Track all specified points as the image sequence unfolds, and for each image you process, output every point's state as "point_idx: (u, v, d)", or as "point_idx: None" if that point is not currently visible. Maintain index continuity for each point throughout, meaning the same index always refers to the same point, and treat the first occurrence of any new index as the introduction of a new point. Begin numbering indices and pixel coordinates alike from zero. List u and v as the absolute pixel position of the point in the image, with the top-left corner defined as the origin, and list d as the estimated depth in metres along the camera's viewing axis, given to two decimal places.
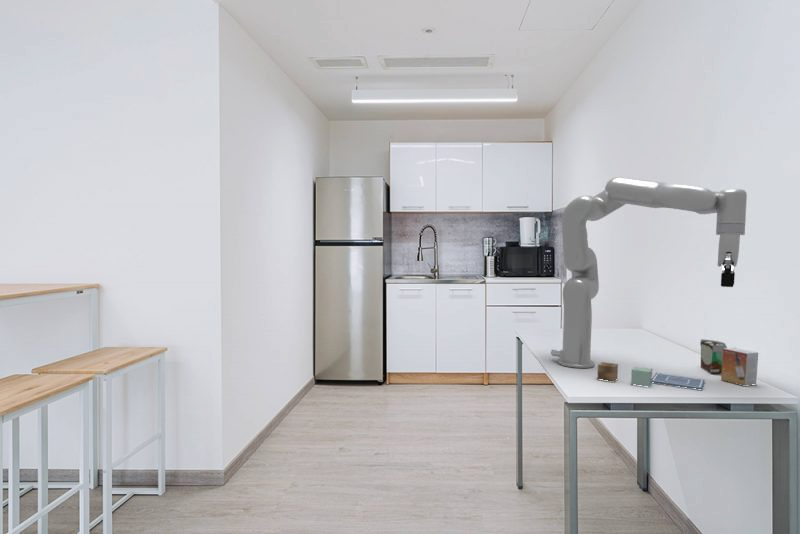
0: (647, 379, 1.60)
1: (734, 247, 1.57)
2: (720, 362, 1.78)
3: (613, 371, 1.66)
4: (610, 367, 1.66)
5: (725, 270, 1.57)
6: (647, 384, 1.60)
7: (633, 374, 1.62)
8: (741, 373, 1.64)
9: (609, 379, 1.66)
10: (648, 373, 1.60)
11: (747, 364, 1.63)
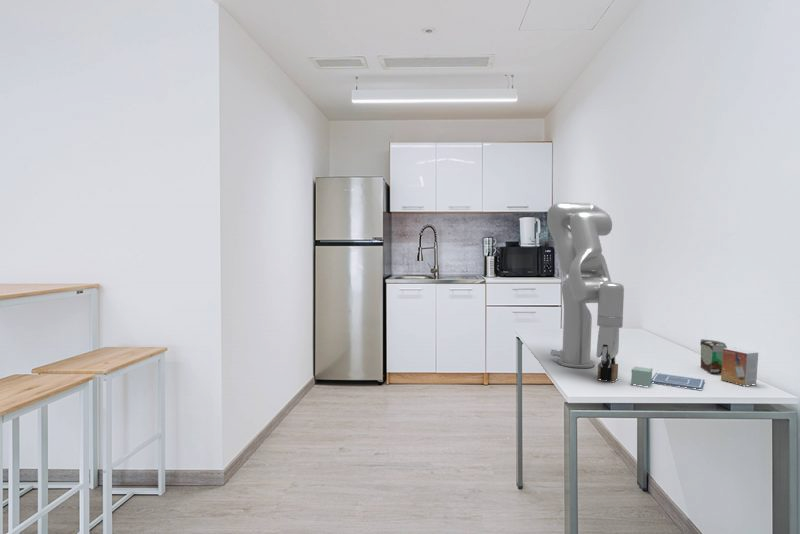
0: (647, 379, 1.60)
1: (610, 340, 1.64)
2: (720, 362, 1.78)
3: (613, 371, 1.65)
4: None
5: (603, 365, 1.65)
6: (647, 384, 1.60)
7: (633, 374, 1.62)
8: (741, 373, 1.64)
9: None
10: (648, 373, 1.60)
11: (747, 364, 1.63)
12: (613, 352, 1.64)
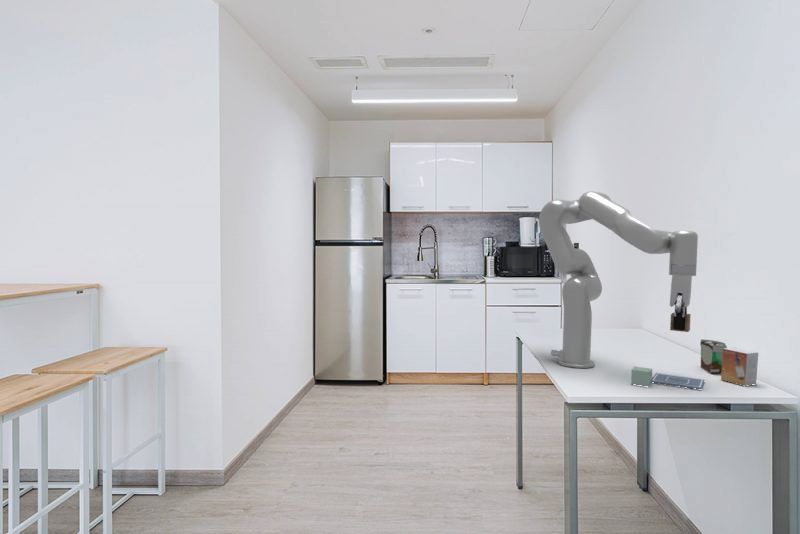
0: (647, 379, 1.60)
1: (685, 288, 1.61)
2: (720, 362, 1.78)
3: (687, 320, 1.62)
4: (684, 316, 1.63)
5: (677, 314, 1.62)
6: (647, 384, 1.60)
7: (633, 374, 1.62)
8: (741, 373, 1.64)
9: None
10: (648, 373, 1.60)
11: (747, 364, 1.63)
12: (687, 300, 1.61)
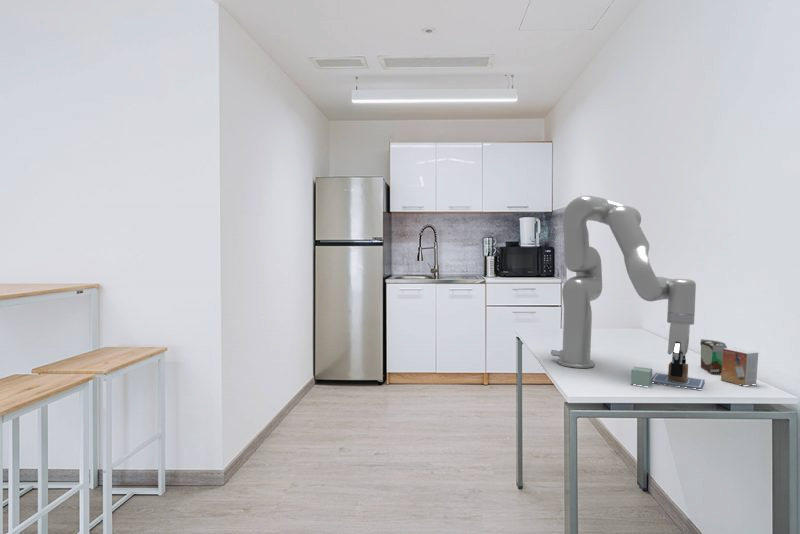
0: (647, 379, 1.60)
1: (683, 337, 1.61)
2: (720, 362, 1.78)
3: (685, 371, 1.63)
4: None
5: (674, 361, 1.62)
6: (647, 384, 1.60)
7: (633, 374, 1.62)
8: (741, 373, 1.64)
9: (681, 379, 1.64)
10: (648, 373, 1.60)
11: (747, 364, 1.63)
12: (685, 349, 1.62)
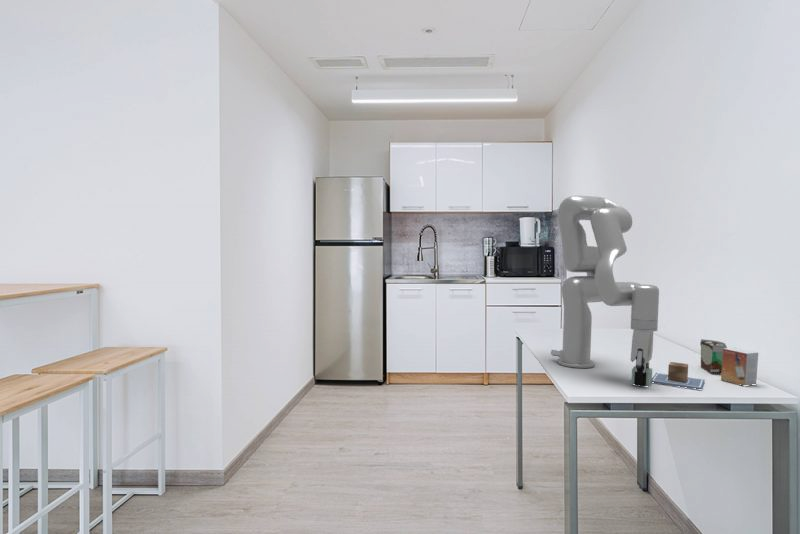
0: (647, 379, 1.60)
1: (645, 344, 1.58)
2: (720, 362, 1.78)
3: (685, 371, 1.63)
4: (682, 367, 1.64)
5: (637, 370, 1.60)
6: (647, 384, 1.60)
7: (633, 374, 1.62)
8: (741, 373, 1.64)
9: (681, 379, 1.64)
10: (648, 373, 1.60)
11: (747, 364, 1.63)
12: (648, 356, 1.59)
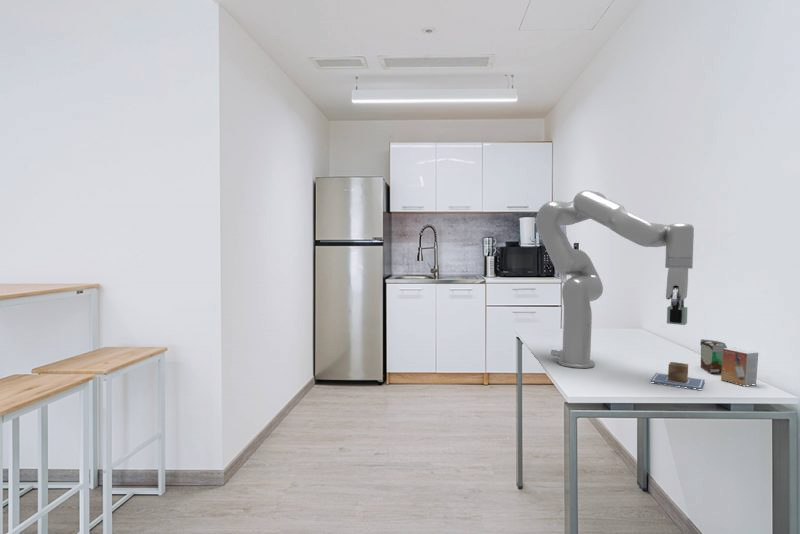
0: (683, 316, 1.62)
1: (681, 281, 1.60)
2: (720, 362, 1.78)
3: (685, 371, 1.63)
4: (682, 367, 1.64)
5: (673, 307, 1.61)
6: (683, 321, 1.62)
7: (669, 312, 1.64)
8: (741, 373, 1.64)
9: (681, 379, 1.64)
10: (684, 310, 1.62)
11: (747, 364, 1.63)
12: (684, 293, 1.61)
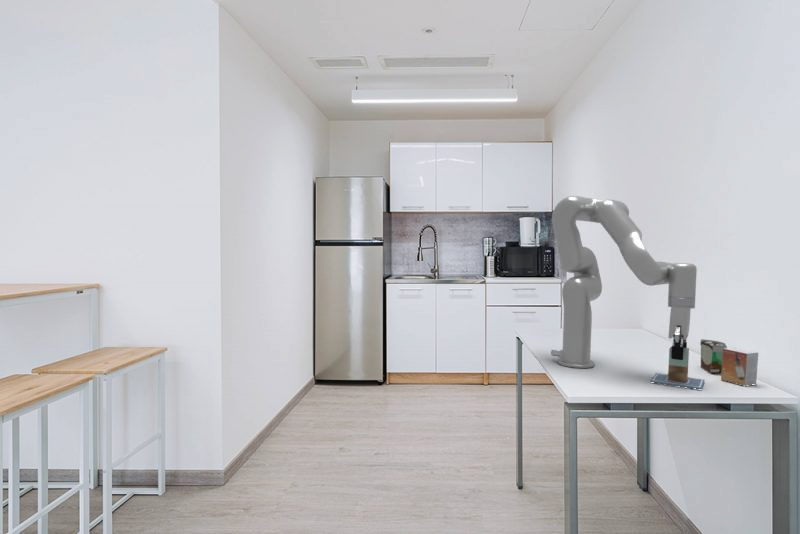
0: (685, 358, 1.63)
1: (684, 321, 1.61)
2: (720, 362, 1.78)
3: (685, 371, 1.63)
4: (682, 367, 1.64)
5: (675, 344, 1.61)
6: (685, 363, 1.63)
7: None
8: (741, 373, 1.64)
9: (681, 379, 1.64)
10: (686, 352, 1.63)
11: (747, 364, 1.63)
12: (686, 333, 1.62)
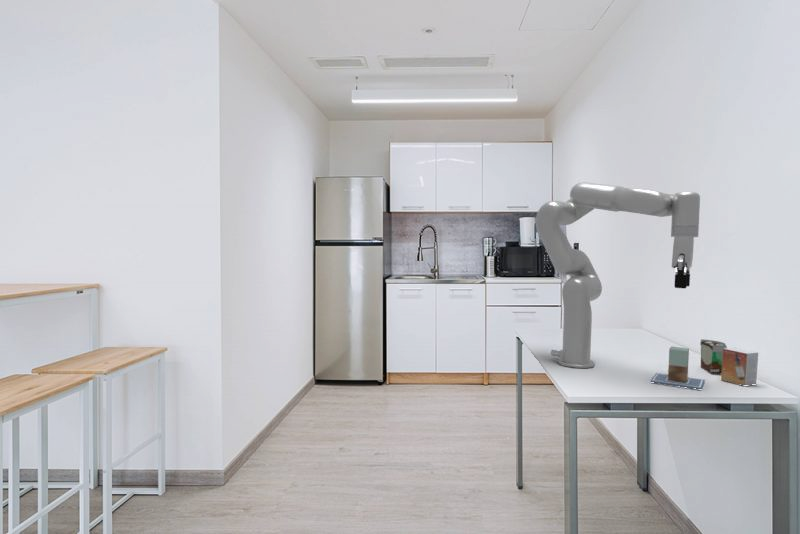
0: (685, 358, 1.63)
1: (687, 249, 1.60)
2: (720, 362, 1.78)
3: (685, 371, 1.63)
4: (682, 367, 1.64)
5: (678, 272, 1.60)
6: (685, 363, 1.63)
7: (671, 353, 1.65)
8: (741, 373, 1.64)
9: (681, 379, 1.64)
10: (686, 352, 1.63)
11: (747, 364, 1.63)
12: (690, 261, 1.61)
